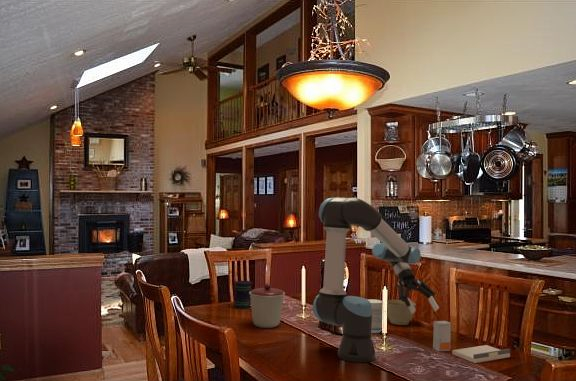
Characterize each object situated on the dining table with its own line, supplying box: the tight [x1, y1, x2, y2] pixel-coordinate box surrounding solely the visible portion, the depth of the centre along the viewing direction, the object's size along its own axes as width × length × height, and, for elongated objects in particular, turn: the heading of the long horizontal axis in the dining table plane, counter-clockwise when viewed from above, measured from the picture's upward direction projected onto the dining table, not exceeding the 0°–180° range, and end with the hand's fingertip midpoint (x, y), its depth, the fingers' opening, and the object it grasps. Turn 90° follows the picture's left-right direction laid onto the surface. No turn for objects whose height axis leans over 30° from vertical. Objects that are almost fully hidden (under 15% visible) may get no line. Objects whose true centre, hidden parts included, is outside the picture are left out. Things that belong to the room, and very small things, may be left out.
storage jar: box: [233, 280, 252, 310], centre depth 276 cm, size 10×10×15 cm
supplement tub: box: [367, 299, 383, 334], centre depth 231 cm, size 10×10×15 cm
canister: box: [249, 282, 286, 329], centre depth 236 cm, size 18×18×21 cm
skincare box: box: [432, 320, 452, 352], centre depth 203 cm, size 6×4×12 cm
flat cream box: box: [451, 344, 511, 364], centre depth 196 cm, size 20×12×3 cm, turn 116°
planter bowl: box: [386, 299, 417, 326], centre depth 247 cm, size 16×16×11 cm
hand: (425, 310), depth 212 cm, fingers open, 13 cm apart
